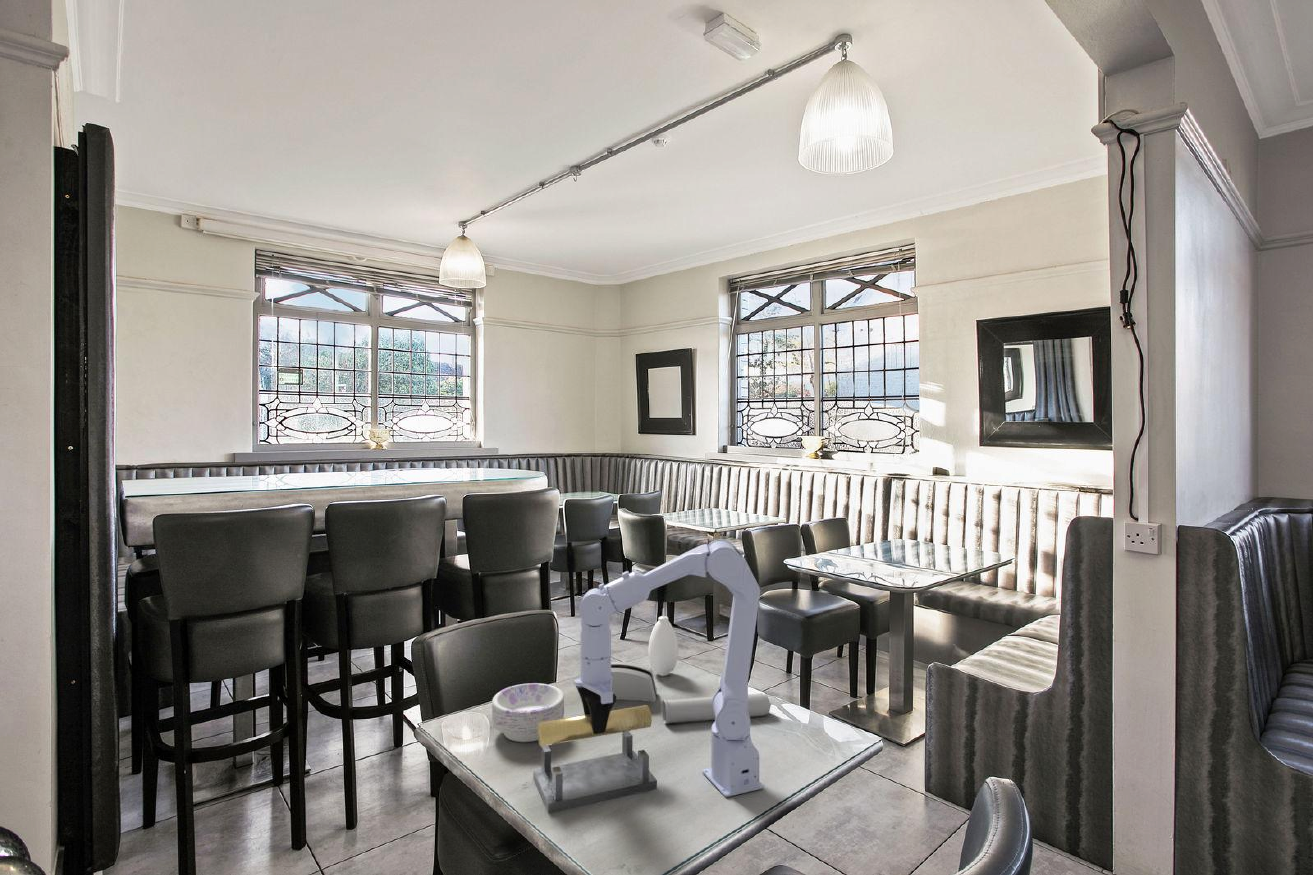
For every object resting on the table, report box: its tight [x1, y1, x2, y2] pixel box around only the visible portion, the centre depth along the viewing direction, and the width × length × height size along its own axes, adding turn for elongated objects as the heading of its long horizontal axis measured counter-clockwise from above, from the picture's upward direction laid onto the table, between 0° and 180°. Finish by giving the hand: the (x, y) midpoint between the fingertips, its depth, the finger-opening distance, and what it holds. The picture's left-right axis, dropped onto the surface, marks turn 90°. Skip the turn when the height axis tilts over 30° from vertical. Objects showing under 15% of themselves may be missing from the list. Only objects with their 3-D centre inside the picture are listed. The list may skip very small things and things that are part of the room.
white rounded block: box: [611, 661, 658, 702], centre depth 161 cm, size 17×5×10 cm, turn 81°
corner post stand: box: [532, 731, 658, 813], centre depth 122 cm, size 12×20×6 cm, turn 113°
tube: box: [661, 693, 772, 725], centre depth 150 cm, size 5×5×25 cm
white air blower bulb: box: [648, 607, 679, 677], centre depth 176 cm, size 8×8×18 cm
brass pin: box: [537, 704, 653, 747], centre depth 124 cm, size 21×4×4 cm, turn 112°
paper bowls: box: [491, 682, 565, 743], centre depth 142 cm, size 15×15×8 cm
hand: (595, 727), depth 124 cm, fingers closed on brass pin, 4 cm apart
